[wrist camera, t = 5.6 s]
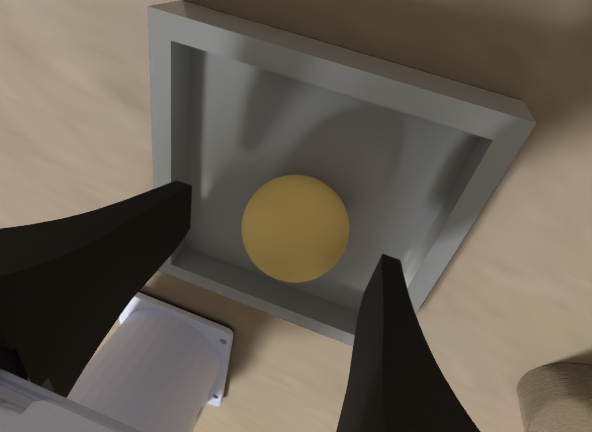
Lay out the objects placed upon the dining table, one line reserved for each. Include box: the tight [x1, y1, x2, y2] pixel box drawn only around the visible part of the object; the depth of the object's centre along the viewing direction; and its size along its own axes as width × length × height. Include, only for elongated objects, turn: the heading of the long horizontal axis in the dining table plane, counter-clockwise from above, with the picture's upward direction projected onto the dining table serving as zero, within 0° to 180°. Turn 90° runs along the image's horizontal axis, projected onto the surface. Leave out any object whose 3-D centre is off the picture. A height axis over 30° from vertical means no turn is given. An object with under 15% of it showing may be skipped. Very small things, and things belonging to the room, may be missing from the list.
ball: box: [242, 175, 349, 283], centre depth 14 cm, size 4×4×4 cm
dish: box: [148, 0, 537, 346], centre depth 16 cm, size 12×12×2 cm
